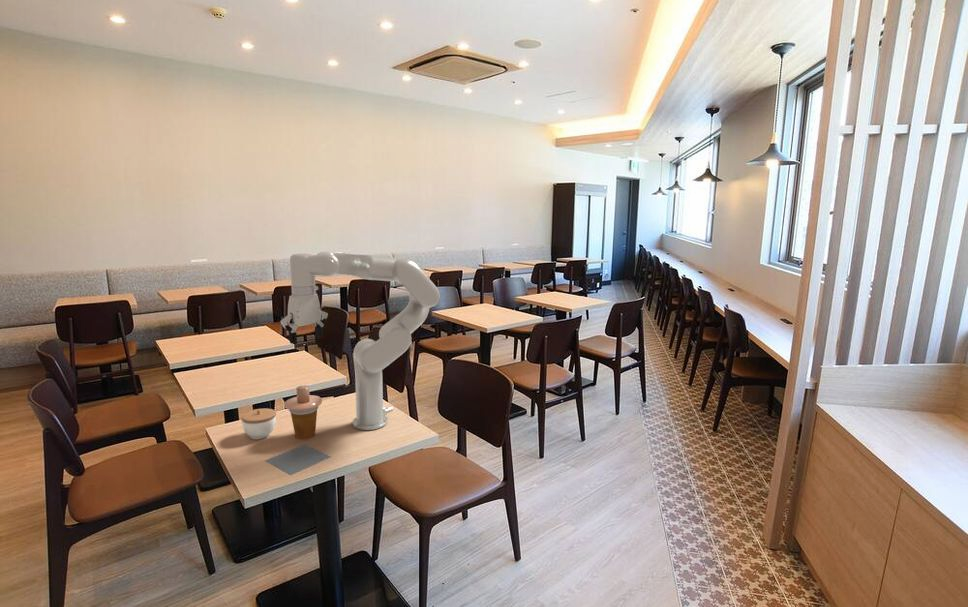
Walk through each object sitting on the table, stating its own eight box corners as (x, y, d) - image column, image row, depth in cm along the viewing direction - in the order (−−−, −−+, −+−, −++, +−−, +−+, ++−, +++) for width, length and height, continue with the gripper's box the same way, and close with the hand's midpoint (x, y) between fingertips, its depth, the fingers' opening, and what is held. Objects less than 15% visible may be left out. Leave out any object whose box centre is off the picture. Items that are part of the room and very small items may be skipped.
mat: (305, 445, 162) (305, 444, 162) (331, 458, 154) (331, 456, 154) (265, 462, 151) (264, 460, 151) (290, 476, 143) (290, 474, 143)
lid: (308, 394, 175) (307, 379, 174) (329, 402, 168) (328, 386, 167) (277, 404, 165) (276, 388, 164) (298, 413, 158) (297, 396, 157)
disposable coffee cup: (324, 436, 169) (323, 403, 166) (297, 445, 162) (295, 411, 160) (312, 428, 175) (310, 396, 173) (285, 436, 169) (283, 403, 167)
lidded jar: (238, 435, 169) (236, 409, 168) (269, 426, 177) (268, 401, 175) (249, 445, 162) (247, 418, 160) (282, 435, 169) (280, 410, 168)
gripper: (319, 287, 172) (321, 334, 175) (273, 292, 158) (276, 344, 161) (332, 289, 167) (334, 337, 170) (286, 295, 154) (289, 347, 157)
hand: (306, 340), depth 166 cm, fingers open, 9 cm apart
